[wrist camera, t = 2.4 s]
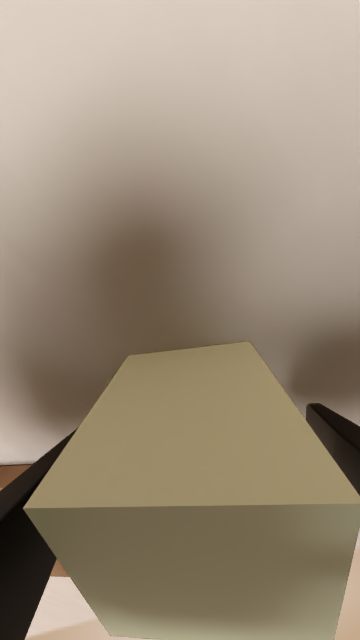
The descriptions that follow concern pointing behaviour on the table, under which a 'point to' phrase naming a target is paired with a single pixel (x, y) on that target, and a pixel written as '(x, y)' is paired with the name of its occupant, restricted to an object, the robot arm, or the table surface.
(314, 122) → the table surface
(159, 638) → the sage cube
